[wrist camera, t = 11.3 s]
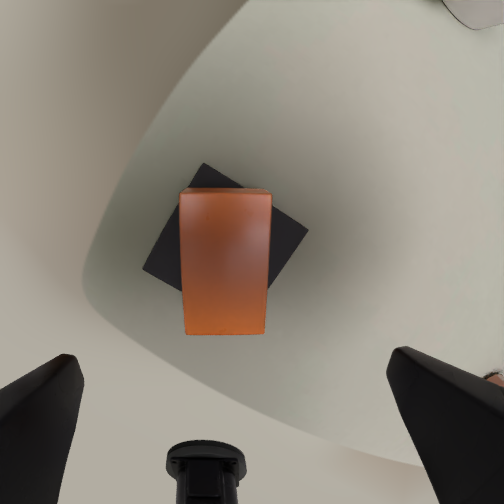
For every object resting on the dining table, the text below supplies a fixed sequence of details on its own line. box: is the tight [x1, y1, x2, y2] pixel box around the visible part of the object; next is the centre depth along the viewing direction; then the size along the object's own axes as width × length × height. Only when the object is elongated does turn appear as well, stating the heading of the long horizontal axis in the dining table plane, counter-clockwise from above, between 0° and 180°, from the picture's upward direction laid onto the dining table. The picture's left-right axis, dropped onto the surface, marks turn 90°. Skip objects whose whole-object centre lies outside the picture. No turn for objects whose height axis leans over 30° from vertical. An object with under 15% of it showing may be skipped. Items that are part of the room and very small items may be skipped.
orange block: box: [179, 188, 272, 335], centre depth 15 cm, size 7×4×3 cm, turn 178°
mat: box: [143, 163, 308, 291], centre depth 17 cm, size 7×7×1 cm
